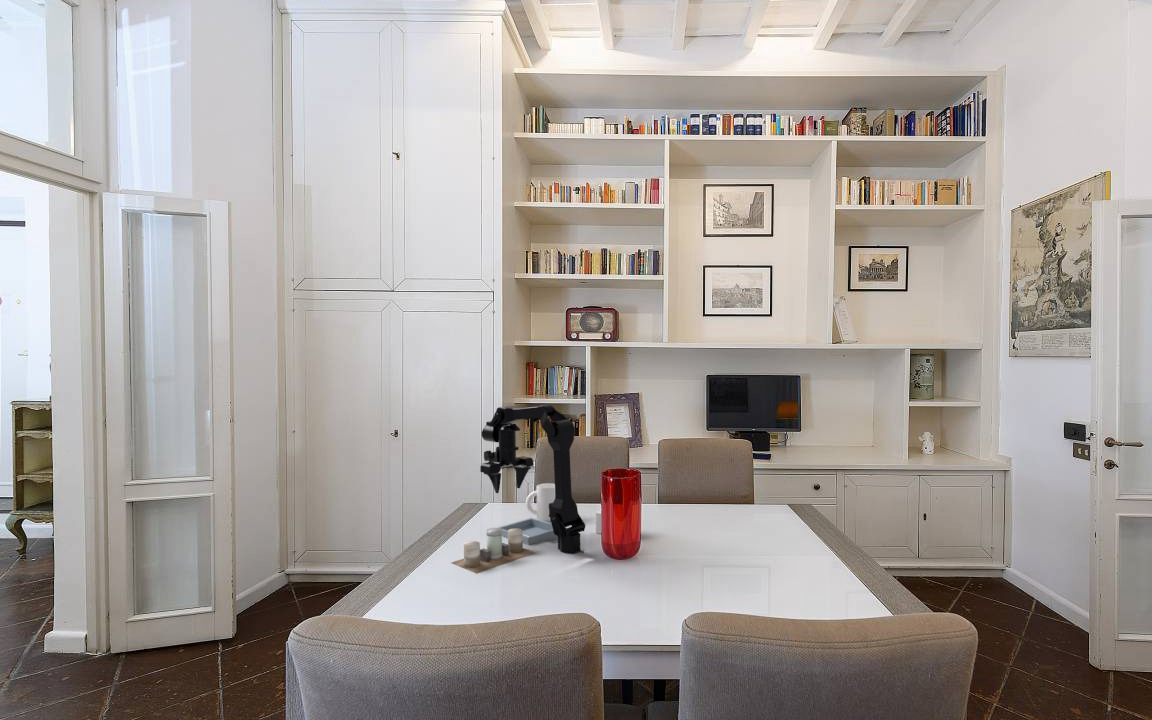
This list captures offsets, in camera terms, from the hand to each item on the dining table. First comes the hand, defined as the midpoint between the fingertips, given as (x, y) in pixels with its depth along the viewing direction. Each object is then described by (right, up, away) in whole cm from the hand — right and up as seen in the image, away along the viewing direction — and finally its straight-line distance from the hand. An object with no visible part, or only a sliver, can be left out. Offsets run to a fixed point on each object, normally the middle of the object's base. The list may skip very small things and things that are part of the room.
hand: (507, 490), depth 192 cm
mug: (+10, -15, +18) cm, 25 cm away
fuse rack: (-1, -15, -25) cm, 29 cm away
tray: (+8, -15, -3) cm, 17 cm away
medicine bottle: (+34, -15, +1) cm, 37 cm away
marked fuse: (-1, -14, -25) cm, 28 cm away
